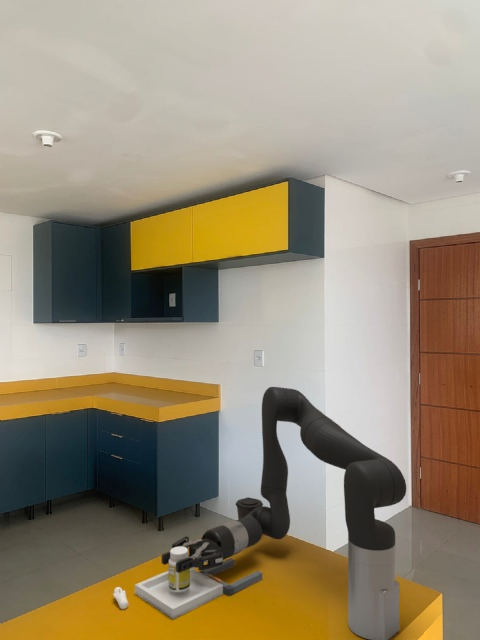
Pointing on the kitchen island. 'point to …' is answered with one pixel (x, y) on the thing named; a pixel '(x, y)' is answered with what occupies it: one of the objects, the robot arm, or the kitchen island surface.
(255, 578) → the holder
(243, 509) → the coffee cup
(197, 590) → the tray
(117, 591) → the small white plastic part
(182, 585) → the supplement bottle
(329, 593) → the kitchen island surface
